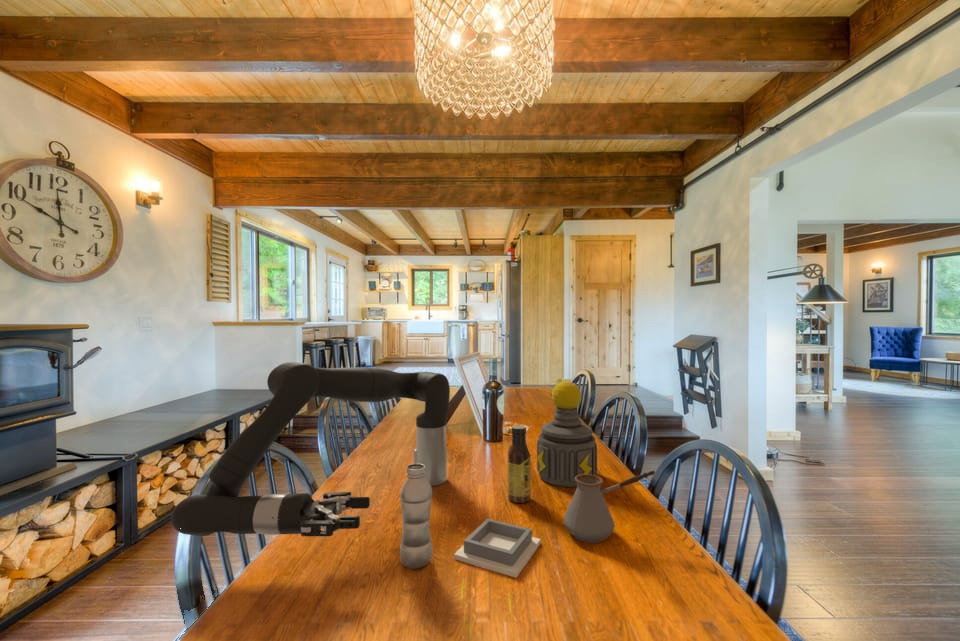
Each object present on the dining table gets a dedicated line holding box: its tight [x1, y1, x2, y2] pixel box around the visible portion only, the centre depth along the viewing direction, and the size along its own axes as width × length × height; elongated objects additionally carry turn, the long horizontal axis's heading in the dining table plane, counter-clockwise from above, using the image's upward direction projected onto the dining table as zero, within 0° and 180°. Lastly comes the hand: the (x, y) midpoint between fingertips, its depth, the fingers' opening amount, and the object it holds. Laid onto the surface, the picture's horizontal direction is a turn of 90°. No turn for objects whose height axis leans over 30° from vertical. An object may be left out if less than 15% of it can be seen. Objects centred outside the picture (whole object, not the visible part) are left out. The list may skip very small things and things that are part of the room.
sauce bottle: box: [507, 425, 531, 504], centre depth 118 cm, size 7×6×20 cm
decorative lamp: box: [536, 380, 598, 488], centre depth 134 cm, size 19×19×30 cm
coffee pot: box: [563, 470, 659, 544], centre depth 98 cm, size 21×12×15 cm, turn 87°
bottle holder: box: [453, 518, 542, 579], centre depth 92 cm, size 14×14×4 cm
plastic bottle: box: [399, 463, 434, 570], centre depth 87 cm, size 6×7×20 cm
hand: (364, 511), depth 87 cm, fingers open, 8 cm apart
